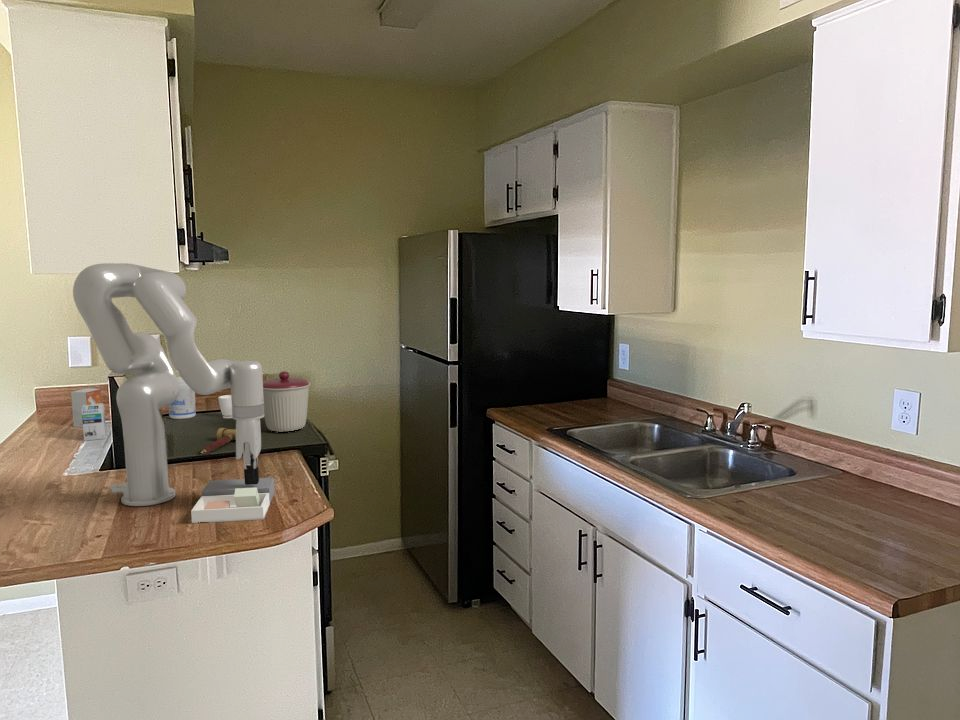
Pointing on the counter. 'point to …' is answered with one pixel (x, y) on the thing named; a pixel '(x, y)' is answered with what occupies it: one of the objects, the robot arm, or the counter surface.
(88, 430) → the light bulb box
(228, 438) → the gavel
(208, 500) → the tray
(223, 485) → the plate
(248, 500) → the tile
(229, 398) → the cup
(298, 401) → the canister
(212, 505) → the tile
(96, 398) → the small box
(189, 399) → the supplement tub
